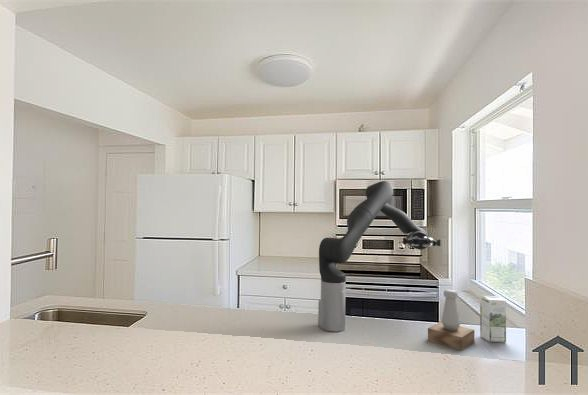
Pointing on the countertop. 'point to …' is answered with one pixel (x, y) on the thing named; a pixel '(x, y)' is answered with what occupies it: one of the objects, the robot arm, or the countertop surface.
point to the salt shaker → (450, 311)
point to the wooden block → (451, 336)
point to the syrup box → (493, 318)
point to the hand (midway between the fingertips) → (422, 242)
